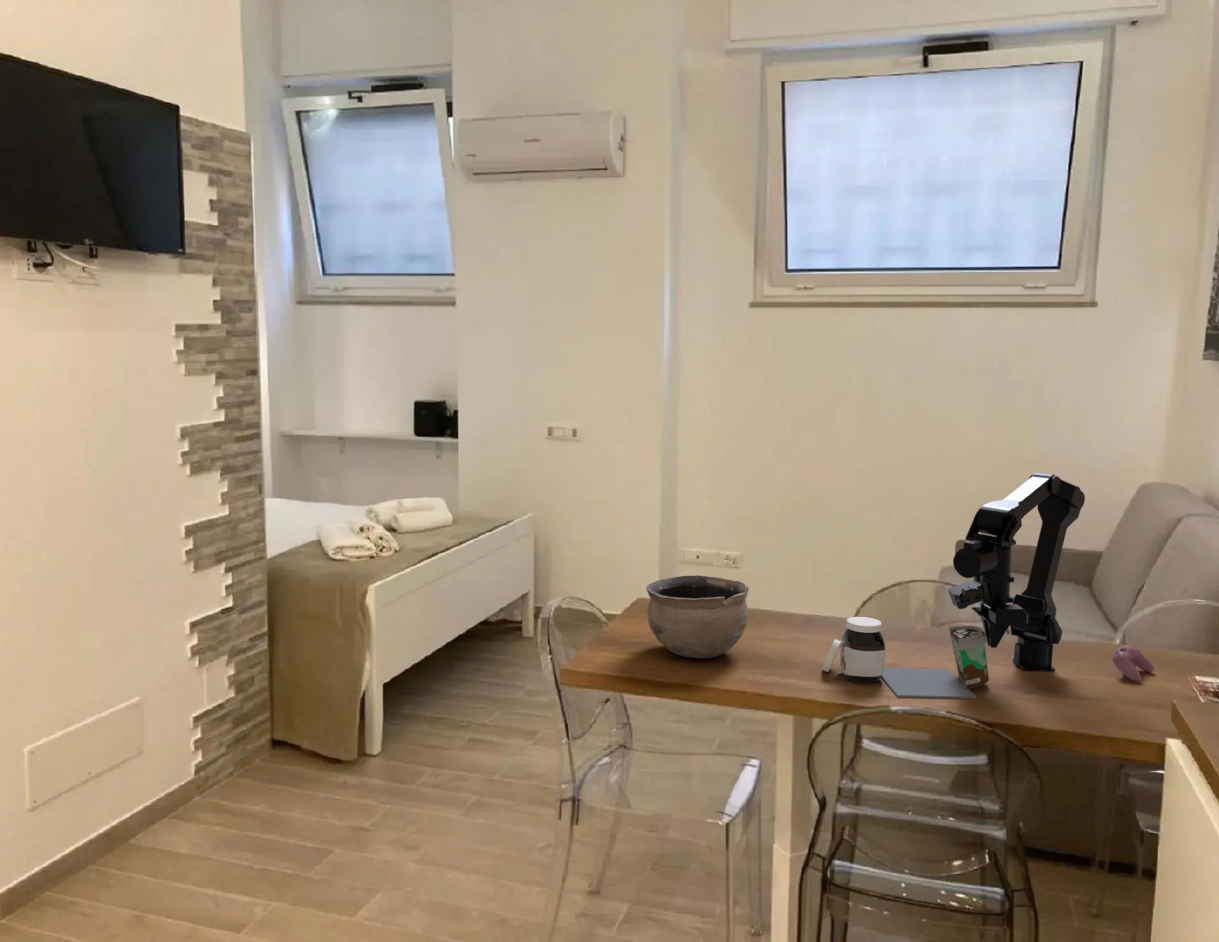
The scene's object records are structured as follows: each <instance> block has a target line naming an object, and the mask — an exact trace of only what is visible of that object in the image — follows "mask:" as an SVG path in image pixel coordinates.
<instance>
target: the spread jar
mask: <svg viewBox="0 0 1219 942" xmlns="http://www.w3.org/2000/svg"><path fill="white" fill-rule="evenodd" d="M882 624H883V623H882V621H880V620H878V619H876V618H872V617H866V616H852V617H848V618H847V619H846V628H845V629H844V630H843V632H842V634H841V639H840V640H838V639H837V638H835V639H834V640H833V643H832V645H831V646H830V649H829V651H828V653H827V656H826V657H825V658H826V659H825V661H824V663H823V666H822V667H821V670H822V671H824V672H826V673H829V672H830V669H831V667H832V665H833V662H834V659H836V656H837V653H838V650H839V649H840V651H839V655H840V656H839V664H840V665H839V666H840V671H841V674H842V676H843V677H844V678H845V679H846V680H847V681H848V680H849V681H851V682H853V683H861V684H870V683H871V684H872V683H876V682H878V681H880V680H881V679H882V677H883V674H884V668H886V666H885V664H886V663H885V662H886V642H885V639H884V636H883V634H882V627H883V625H882Z"/></svg>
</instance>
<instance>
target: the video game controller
mask: <svg viewBox="0 0 1219 942" xmlns="http://www.w3.org/2000/svg"><path fill="white" fill-rule="evenodd" d="M1112 662H1113V665H1114V667H1115V668H1116V669H1117V670H1118V671H1120V672H1121V674H1123V676H1124V675H1125V676H1124V677H1126V678H1127V679H1128V680H1130V681H1132V680H1133V681H1132V682H1135V681H1137V682H1136V683H1138V682H1140V681H1141V679H1142V677H1141V673H1140V671H1138V669H1137V668H1139V669H1140V670H1141V671H1143V672H1145V671H1146V672H1145V673H1148V672H1151V673H1153V672H1154V665H1153V663H1152V661H1150V660H1149V659H1148V658H1147V657H1146V656H1144V654H1143V653H1142V652H1141V651H1140V650H1139V648H1137V647H1136V646H1135V645H1134V644H1133V645H1132V646H1131V645H1128V644H1126V645H1121V646H1118V648H1116V651H1115V652H1114V653H1113V654H1112Z"/></svg>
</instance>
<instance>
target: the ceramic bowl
mask: <svg viewBox="0 0 1219 942" xmlns="http://www.w3.org/2000/svg"><path fill="white" fill-rule="evenodd" d="M749 588H750V587H749V586H748V584H746V583H743V582H741V581H738V580H733V579H726V578H723V577H719V576H718V577H717V576H716V577H714V576H708V575H681V576H671V577H667V578H663V579H658V580H656V581H654V582H650V583H649V584H648V583H647V585H646V588H645V590H646V592H647V594H648V596H649V598H650V599H649V601H648V604H647V605H648V606H647V622H648V626H649V628H650V630H651V632H652V633H653V635H654V636H655V638H656V639H657V641H658V642H660V644H662V646H663V647H665V648H666V649H667V650H668V651H670V652H672V653H673V654H676V655H678V656H681V657H684V658H691V659H711V658H716V657H719V656H721V655H723V654H725V653H726V652H728V651H730V650H731V649H732V648H733V647H734V646H735V645H736V644H737V642H738V641H739V640H740V638H741V637H742V635H743V634H744V632H745V629H746V627H747V624H748V623H747V622H748V615H749V614H748V606H747V601H746V600H747V597H748V592H749V590H750V589H749Z"/></svg>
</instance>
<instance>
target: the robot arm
mask: <svg viewBox="0 0 1219 942" xmlns="http://www.w3.org/2000/svg"><path fill="white" fill-rule="evenodd" d="M1085 499H1086V496H1085V493H1084V492H1083V491H1082V490H1081V487H1079V486H1078V485H1074V484H1072V483H1069V482H1067V481H1065V480H1063V479H1061V478H1060V476H1059V475H1058V476H1057V475H1056V474H1052V473H1051V474H1050V473H1044V472H1043V473H1042V472H1035V473H1032V474H1030V476H1029V478H1028V480H1027V481H1025V482H1024V483H1022V484H1021V485H1020V486H1018V488H1016V489H1015V490H1014V491H1013V492H1011V493H1010V494H1009V495H1007V496H1006V497H1005V498H1003V499H1000V500H993V501H992V500H991V501H989V502H987V503H985V504H984V505H982V506H980V507H979V508H978V510H977V511H976V513H975V515H974V517H973V520H972V522H971V524H970V527H969V529H968V531H967V534H966V536H965V541H964V542H963V548H961V549H958V550H957V551H956V553H955V555H954V557H953V561H952V562H953V563H952V564H953V567H954V570H955V571H956V573H957V574H958V575H959V576H961V577H963V578H965V579H971V578H972V579H973V580H971V581H966V582H963V583H960V584H958V585H955V586H952V587H950V588H948V590H947V591H948V594H949V597H950V600H951V603H952V605H953V606H955V607H956V608H957V609H959V610H963V609H966V608H968V607H969V606H972V605H975V607H971V610H972V611H974V613H975V614H977V616H979V617H980V620H981V622H982V626H983V631H984V633H985V635H986V637H987V639H988V640H987V642H986V643H987V646H988V647H990V648H991V649H993V648H994V649H996V648H998V646H999V644H1000V643H1001V641H1002V639H1003V637H1004V636H1005V634H1006V632H1007V630H1008V629H1009V628H1010V634H1011V636H1015V637H1017V640H1016V641H1017V642H1015V643H1014V654H1013V655H1014V656H1013V659H1012V662H1013V663H1014V664H1015V665H1017V666H1018V667H1019V668H1020V669H1022V670H1024V671H1026V672H1030V671H1031V672H1038V671H1039V672H1055V671H1056V668H1055V667H1053V666H1052V664H1053V655H1054V654H1053V652H1054V645H1058V644H1060V642H1061V640H1062V636H1063V629H1062V628H1061V626H1060V624H1059V622H1058V621H1057V619H1056V615H1057V607H1056V605H1055V601H1054V598H1053V595H1052V593H1053V589H1054V585H1055V581H1056V577H1057V572H1058V568H1059V563H1060V559H1061V555H1062V551H1063V546H1064V543H1065V539H1066V534H1067V529H1068V528H1069V527H1071V525H1072V524H1073V523H1074V522H1075V521H1076V520H1077V519H1079V516H1080V513H1081V510H1082V508H1083V506H1084V504H1085ZM1035 508H1037V511H1038V514H1039V517H1040V519H1041V527H1040V531H1039V534H1038V538H1037V543H1036V546H1035V547H1036V548H1035V552H1034V556H1033V560H1032V565H1031V568H1030V573H1029V577H1028V582H1027V586H1026V588H1025V590H1023V591H1022V592H1021V593H1020V594H1018V593H1016V594H1015V595H1014V597H1013V596H1011V595H1010V594H1011V593H1010V592H1011V583H1015V577H1014V576H1012V574H1011V570H1012V569H1011V565H1012V546H1015V545H1017V541H1016V539H1015V536H1016V534H1017V533H1018V531H1020V529H1021V528H1022V526H1023V525H1022V519H1023V518H1024V517H1025V516H1027V515H1028V513H1030V512H1031V511H1032V510H1033V509H1035Z"/></svg>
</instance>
